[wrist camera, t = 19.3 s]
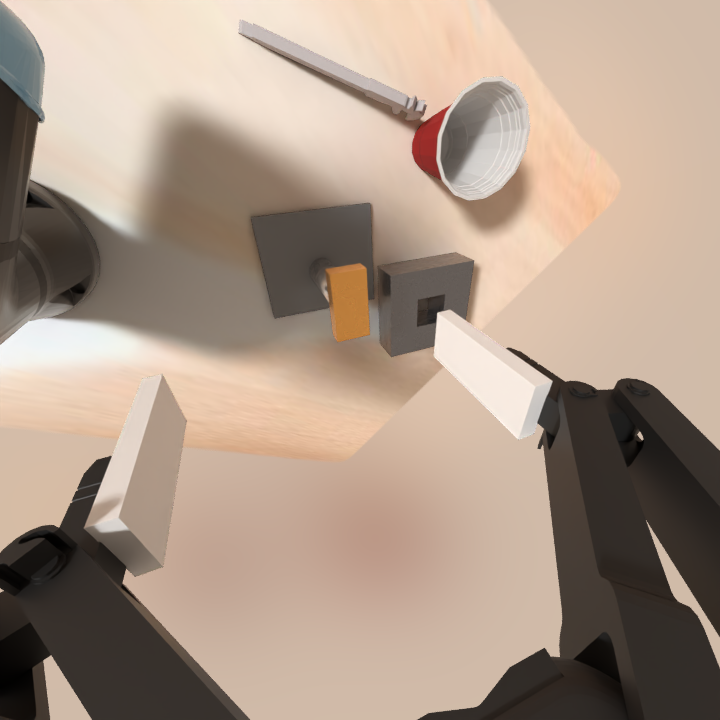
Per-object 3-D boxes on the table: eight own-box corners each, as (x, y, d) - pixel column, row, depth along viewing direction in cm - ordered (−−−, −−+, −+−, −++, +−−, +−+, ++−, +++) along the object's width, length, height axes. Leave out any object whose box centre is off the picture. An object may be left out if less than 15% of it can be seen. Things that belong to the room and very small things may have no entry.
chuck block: (379, 343, 57) (391, 357, 53) (377, 266, 49) (390, 275, 45) (447, 326, 60) (463, 338, 56) (455, 252, 52) (474, 260, 48)
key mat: (274, 317, 48) (274, 318, 47) (250, 217, 40) (250, 218, 39) (372, 297, 52) (374, 298, 51) (368, 202, 44) (370, 203, 43)
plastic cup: (384, 109, 39) (435, 94, 29) (461, 82, 40) (533, 59, 30) (400, 202, 45) (446, 215, 36) (466, 177, 46) (527, 183, 37)
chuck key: (303, 244, 43) (329, 274, 32) (331, 240, 44) (366, 268, 33) (311, 298, 48) (337, 342, 36) (337, 293, 49) (369, 334, 37)
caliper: (410, 111, 40) (436, 105, 35) (407, 121, 40) (432, 116, 35) (239, 20, 31) (241, -6, 26) (238, 34, 32) (239, 12, 27)
